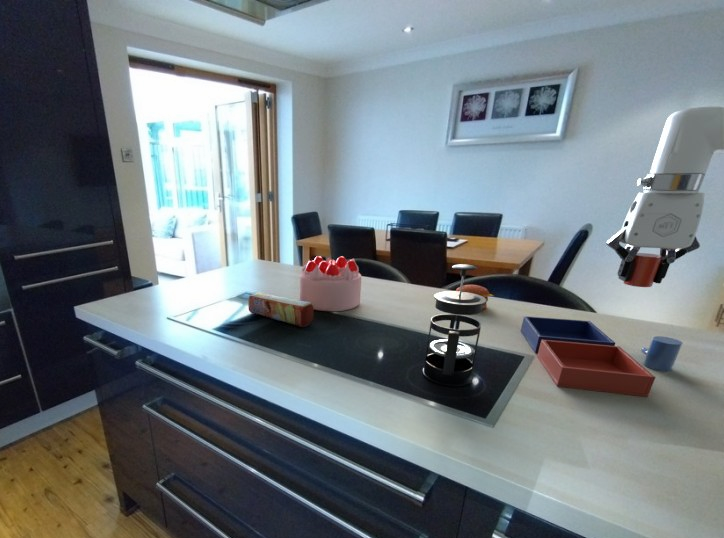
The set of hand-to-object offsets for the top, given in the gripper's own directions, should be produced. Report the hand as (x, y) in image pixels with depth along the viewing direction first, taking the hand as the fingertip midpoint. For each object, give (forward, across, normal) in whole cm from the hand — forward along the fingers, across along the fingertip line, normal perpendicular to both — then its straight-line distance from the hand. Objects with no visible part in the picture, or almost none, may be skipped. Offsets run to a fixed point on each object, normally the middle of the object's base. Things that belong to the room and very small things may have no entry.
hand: (639, 279), depth 79 cm
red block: (+1, 0, +2) cm, 2 cm away
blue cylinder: (+18, +7, 0) cm, 19 cm away
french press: (+18, -35, -20) cm, 44 cm away
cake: (+18, -68, +23) cm, 75 cm away
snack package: (+18, -79, +4) cm, 81 cm away
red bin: (+18, -8, -10) cm, 22 cm away
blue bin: (+18, -8, +6) cm, 20 cm away
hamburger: (+18, -26, +31) cm, 44 cm away
